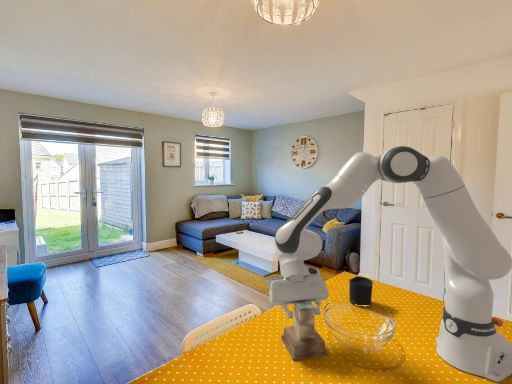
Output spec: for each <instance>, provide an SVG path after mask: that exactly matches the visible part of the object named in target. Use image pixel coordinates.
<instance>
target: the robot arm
mask: <svg viewBox="0 0 512 384" xmlns="http://www.w3.org/2000/svg"><path fill="white" fill-rule="evenodd" d="M378 180H382V181H385V182H388V183H392V184H401V183H403V184H404V183H413V184H415V185H416V187H417V188H418V189H419V192H420V194H421V197H422V199H423V200H424V204H425V205H426V206H427V209H428V211H429V214H430V216H431V218H432V220H433V222H434V224H435V225H436V227H438V229H439V230H440V232H441V234H442V237H441V239H440V240H441V242H440V243H441V247H442V248H441V249H442V255H443V268H444V274H445V282H446V283H445V284H446V285H445V305H444V307H443V308H442V309H443V310H442V319H441V321H440V327H439V333H438V336H436V337H435V342H436V348H435V350H436V353H437V354H438V356H439V357H440V358H441V359H442V360H444V361H445V362H446V363H447V364H449V365H451V366H452V367H454V368H456V369H459V370H461V371H463V372H466V373H468V374H472V375H474V376H480V377H483V378H485V379H487V380H490V381H492V382H493V381H494V382H497V383H500V382H502V381H503V380H505V379H507V378H509V377H510V376H512V375H511V374H512V343H511V341H510V340H509V339H508V338H506V337H505V336H503V335H502V334H501V333H500V332H499V331H497V329H496V326H497V327H499V328H501V327H503V326H504V321H503V320H502V319H499V318H497V317H495V316H494V317H493V308H494V297H495V296H494V292H493V291H494V290H493V289H492V286H491V283H490V281H491V280H492V281H493V280H499V279H503V278H504V277H506V276H507V275H508V274H509V273H510V272H511V270H512V256H511V255H510V253H509V252H508V251H507V249H506V248H505V247H504V245H502V243H501V242H500V241H499V239H498V237H497V236H496V234H495V233H494V232H493V230H492V228H491V227H490V226H489V224H488V223H487V221H485V219H484V218H483V216H482V215H481V213H480V212H479V210H478V209H477V207H476V205H475V202H474V201H473V199H472V197H471V195H470V192H469V191H468V188H467V187H466V184H465V183H464V181H463V178H462V177H461V175H460V174H459V172H458V170H457V169H456V168H455V166H454V165H453V164H452V163H451V161H450V160H449V158H447V157H445V156H443V155H432V156H428V157H427V156H426V155H424V154H422V153H421V152H419V151H418V150H416V149H414V148H413V147H411V146H405V145H400V146H395V147H393V148H390V149H388V150H386V151H385V152H384V153H383V154H380V155H378V156H374V155H372V154H371V153H368V152H366V151H365V152H364V151H359V152H355V154H353V155H352V156H351V157H350V158H349V159H348V160H347V161H346V162H345V163H344V164H343V165H342V167H341V168H340V169H339V170H338V172H337V173H336V174H335V175H334V177H333V178H332V179H331V180H330V181H329V182H328V183H327V184H325V185H324V186H321V187H319V188H318V189H316V190H314V192H313V193H312V194H311V195H310V196H309V197H308V198H307V200H305V202H303V204H302V205H301V206H300V207H299V208H298V209H297V210H296V211H295V212H294V214H293V215H291V217H289V218H288V219H287V220H286V221H284V222H283V223H282V224H281V225H280V226H279V227H278V228H277V229H276V232H275V235H274V241H275V244H274V246H275V252H276V259H277V260H278V262H279V270H280V275H279V276H270V277H269V278H268V279H267V280H266V287H267V289H268V290H269V291H268V292H269V293H268V294H269V303H270V305H272V306H281V309H282V310H283V311H284V313H286V317H287V319H288V320H289V319H294V311H293V310H290V309H289V308H288V306H289V305H291V304H292V305H294V301H300V300H309V301H310V302H311V303H312V302H314V305H316V306H315V316H319V315H322V311H321V309H320V308H321V304H322V301H326V300H327V299H328V298H329V295H330V292H329V289H328V286H327V285H326V284H327V283H326V282H325V280H324V278H323V277H322V276H320V275H321V271H320V270H319V269H318V268H315V267H312V266H307V265H305V263H304V262H305V261H309V260H312V259H314V258H316V257H317V256H319V254H320V253H321V252H322V249H323V240H322V236H320V234H319V233H316V232H314V231H312V230H310V229H307V228H308V227H309V226H310V224H311V223H312V222H313V221H314V220H315V219H316V218H317V217H318V216H319V215H320V214H321V213H322V212H324V211H327V210H328V211H329V210H334V209H341V210H342V209H349V208H352V207H354V206H355V205H356V204H357V203H359V202H360V200H361V199H362V198H363V196H364V195H365V194H366V193H367V191H368V190H369V189H370V187H371V186H372V185H373V184H374V183H375V182H376V181H378ZM508 376H509V377H508Z"/></svg>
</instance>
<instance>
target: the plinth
mask: <svg viewBox="0 0 512 384" xmlns="http://www.w3.org/2000/svg"><path fill="white" fill-rule="evenodd" d="M280 337H281V340H282V341H283V344H284V346H285V348H286V349H287V352H288V353H289V356H290V358H291V359H292V361H297V360H303V359H311V358H317V357H324V356H327V355H328V351H327V350H326V349H325V348H326V347H325V346H326V345H325V344H326V341H325V340H324V338H323V337H322V336H321V335H320V333H319V331H317V330H316V328H315V327H314V338H309V339H302V340H299V338H298V337H297V335H296V334H295V332H294V325H290V326H283V335H281V336H280Z"/></svg>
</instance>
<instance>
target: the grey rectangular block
mask: <svg viewBox="0 0 512 384" xmlns="http://www.w3.org/2000/svg"><path fill="white" fill-rule="evenodd" d="M315 308H316V306H315V304H313V303H312V302H310V301H309V300H300V301H294V304H293V326H294V332H295V334H296V335H297V337H298V338H299V340H302V339H309V338H314V328H315V319H316V318H315V317H316V315H315Z"/></svg>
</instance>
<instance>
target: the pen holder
mask: <svg viewBox="0 0 512 384" xmlns="http://www.w3.org/2000/svg"><path fill="white" fill-rule="evenodd" d="M348 280H349V286H348V287H349V289H348V292H349V302H350V303H351V304H352V305H353V304H357V305H370V306H371V304H372V298H373V297H372V296H373V295H372V294H373V284H374V282H373V280H371V279H370V278H368V277H364V276H360V275H359V276H354V277H352V278H349V279H348Z"/></svg>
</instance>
